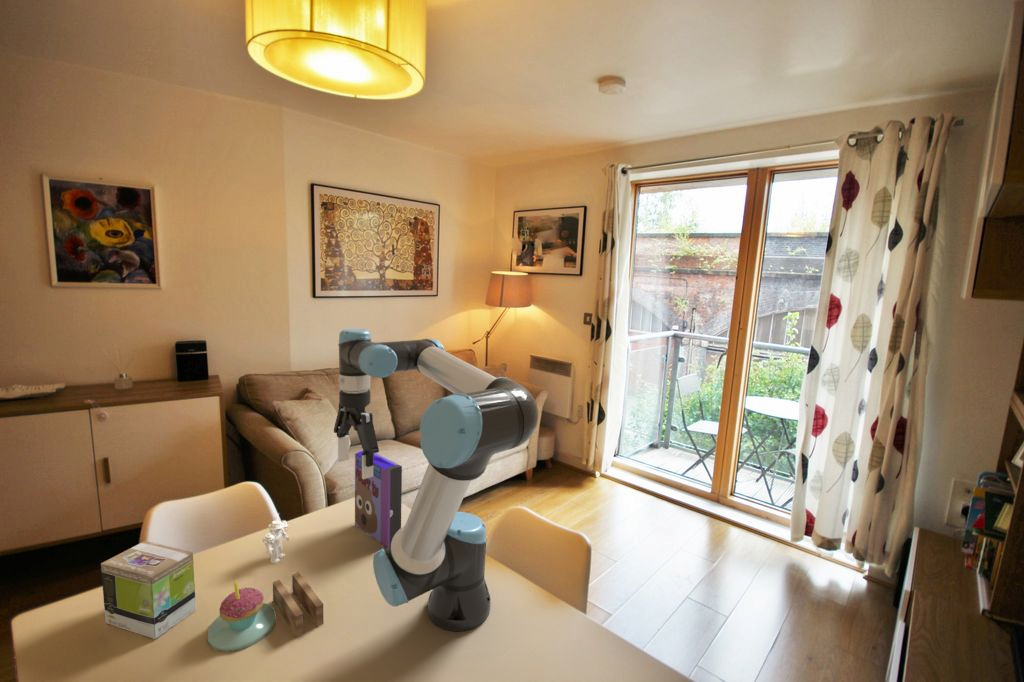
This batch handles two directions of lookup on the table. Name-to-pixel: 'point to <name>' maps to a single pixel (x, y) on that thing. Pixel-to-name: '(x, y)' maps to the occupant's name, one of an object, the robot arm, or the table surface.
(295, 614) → the rail
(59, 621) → the table surface
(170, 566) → the tea box
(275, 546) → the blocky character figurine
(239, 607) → the cupcake
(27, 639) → the table surface
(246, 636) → the plate
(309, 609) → the brown flat block
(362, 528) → the cereal box
